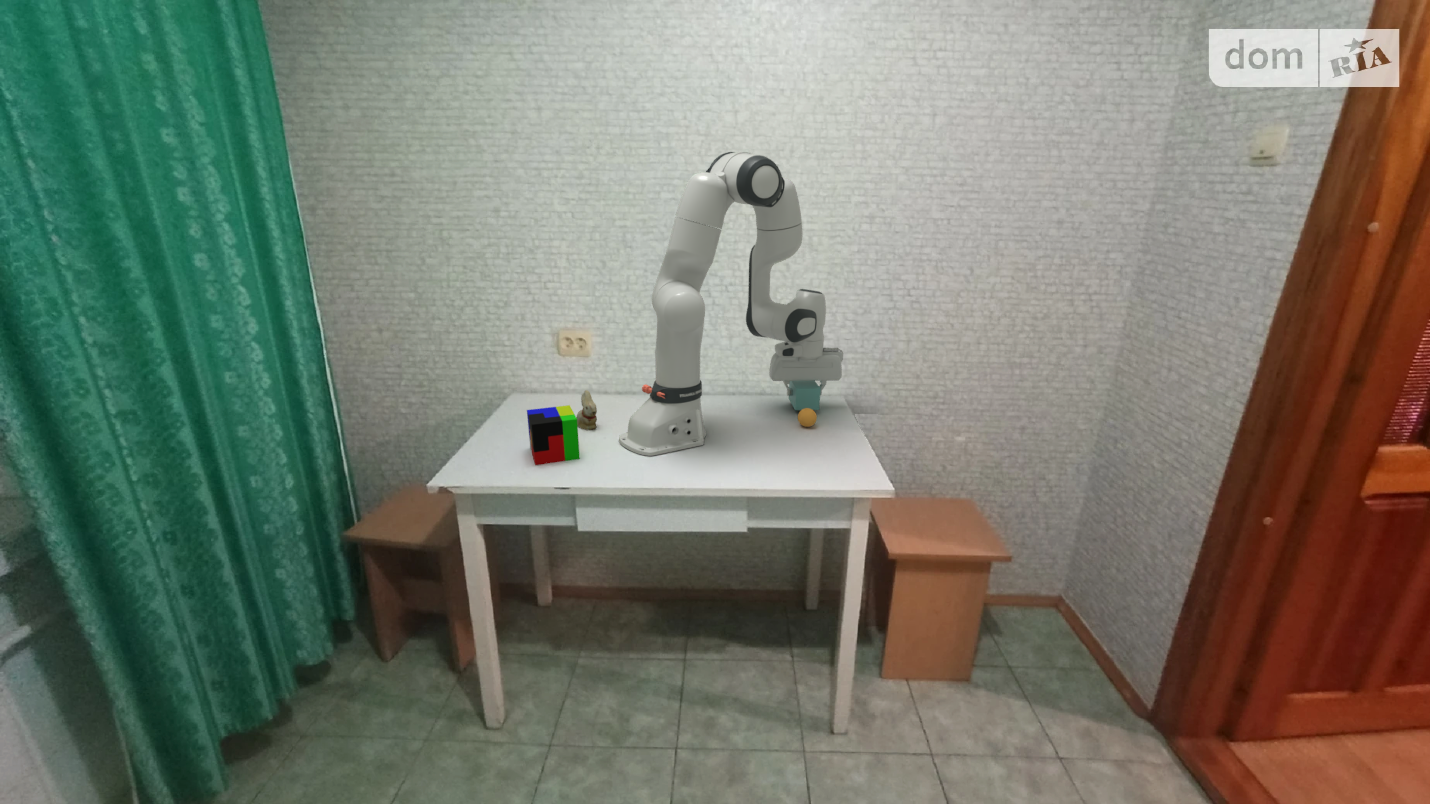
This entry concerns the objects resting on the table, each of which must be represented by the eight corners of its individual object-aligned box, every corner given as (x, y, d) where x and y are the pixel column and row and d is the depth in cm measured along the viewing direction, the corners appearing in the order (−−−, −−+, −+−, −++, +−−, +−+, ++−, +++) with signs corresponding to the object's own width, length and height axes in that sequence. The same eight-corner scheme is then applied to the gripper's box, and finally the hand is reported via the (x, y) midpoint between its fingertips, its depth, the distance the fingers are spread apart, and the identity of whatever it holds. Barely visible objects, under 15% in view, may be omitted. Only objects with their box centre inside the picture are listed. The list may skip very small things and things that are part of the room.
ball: (807, 431, 165) (808, 413, 163) (793, 425, 168) (794, 408, 166) (820, 426, 168) (821, 409, 166) (805, 421, 171) (807, 404, 170)
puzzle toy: (530, 448, 152) (526, 410, 149) (572, 443, 155) (569, 405, 152) (535, 465, 143) (531, 424, 140) (579, 459, 147) (577, 419, 143)
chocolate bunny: (576, 431, 162) (573, 395, 159) (576, 421, 169) (574, 385, 166) (597, 430, 163) (595, 394, 160) (597, 419, 170) (595, 384, 167)
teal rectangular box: (819, 409, 176) (820, 388, 174) (795, 410, 175) (796, 388, 173) (811, 397, 185) (812, 377, 183) (788, 398, 185) (789, 378, 183)
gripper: (841, 344, 179) (837, 391, 183) (769, 344, 177) (767, 391, 182) (846, 350, 173) (842, 398, 177) (772, 350, 171) (770, 398, 176)
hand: (803, 394), depth 179 cm, fingers closed on teal rectangular box, 7 cm apart
